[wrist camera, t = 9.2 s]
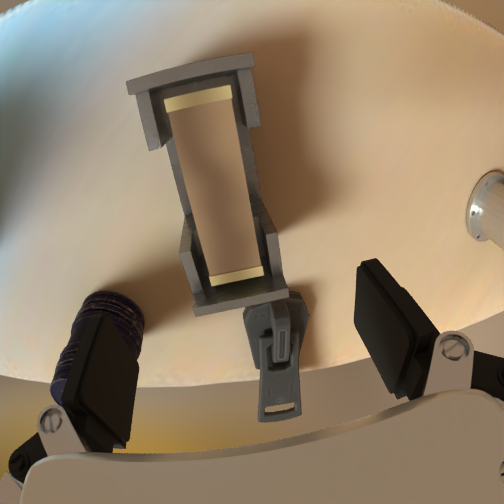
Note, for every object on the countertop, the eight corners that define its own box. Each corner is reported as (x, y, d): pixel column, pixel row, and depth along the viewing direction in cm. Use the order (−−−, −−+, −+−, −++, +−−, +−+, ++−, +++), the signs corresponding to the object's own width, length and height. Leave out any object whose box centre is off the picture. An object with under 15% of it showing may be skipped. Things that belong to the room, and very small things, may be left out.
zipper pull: (255, 425, 46) (247, 329, 34) (250, 396, 52) (240, 294, 40) (304, 416, 47) (321, 318, 35) (296, 389, 53) (306, 286, 40)
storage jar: (76, 326, 39) (48, 406, 26) (88, 279, 35) (49, 365, 22) (135, 349, 42) (122, 433, 29) (155, 307, 39) (141, 400, 26)
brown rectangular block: (226, 87, 22) (230, 84, 18) (256, 249, 31) (263, 275, 26) (171, 99, 22) (163, 99, 18) (210, 258, 30) (211, 286, 26)
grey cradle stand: (237, 67, 26) (252, 52, 16) (267, 240, 36) (289, 296, 26) (154, 86, 25) (125, 81, 16) (197, 255, 36) (195, 316, 26)
